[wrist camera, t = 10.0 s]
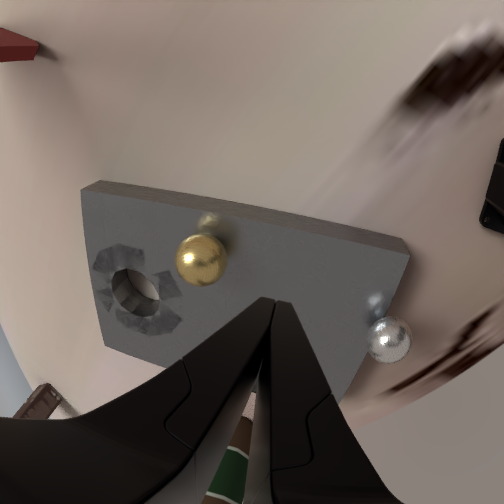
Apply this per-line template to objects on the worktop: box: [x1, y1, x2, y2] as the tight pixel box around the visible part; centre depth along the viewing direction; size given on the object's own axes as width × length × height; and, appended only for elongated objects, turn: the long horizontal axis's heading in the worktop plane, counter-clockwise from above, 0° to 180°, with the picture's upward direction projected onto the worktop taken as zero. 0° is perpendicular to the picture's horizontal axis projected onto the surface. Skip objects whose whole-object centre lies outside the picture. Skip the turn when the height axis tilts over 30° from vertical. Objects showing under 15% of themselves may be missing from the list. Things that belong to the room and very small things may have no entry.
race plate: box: [80, 180, 410, 404], centre depth 24 cm, size 23×16×2 cm
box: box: [13, 383, 63, 419], centre depth 39 cm, size 6×4×12 cm
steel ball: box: [366, 316, 412, 364], centre depth 19 cm, size 3×3×3 cm
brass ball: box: [175, 234, 228, 287], centre depth 19 cm, size 3×3×3 cm
